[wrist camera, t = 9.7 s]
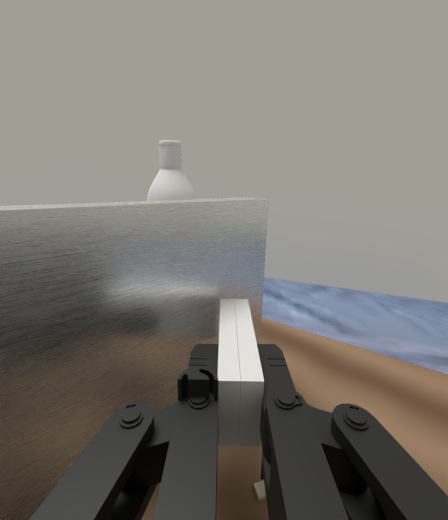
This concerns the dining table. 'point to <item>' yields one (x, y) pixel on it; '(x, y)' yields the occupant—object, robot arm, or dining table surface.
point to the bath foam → (170, 175)
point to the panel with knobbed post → (108, 318)
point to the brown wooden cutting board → (335, 393)
